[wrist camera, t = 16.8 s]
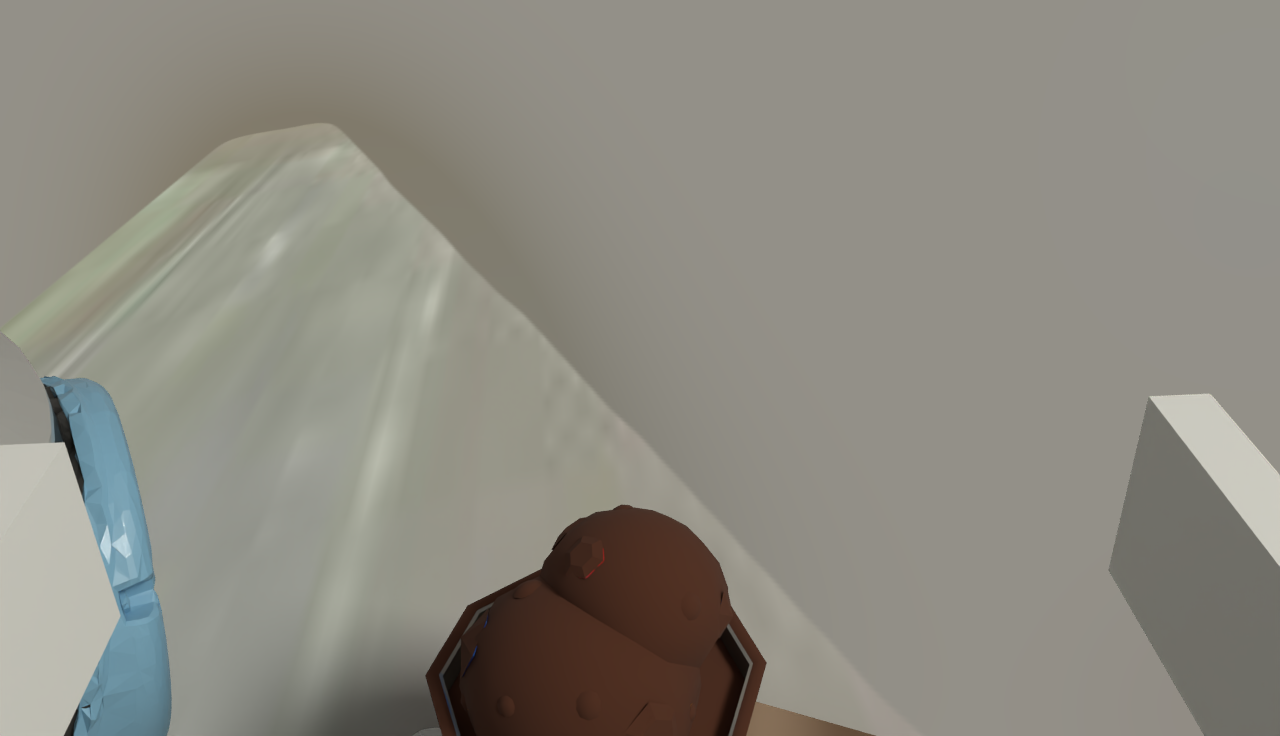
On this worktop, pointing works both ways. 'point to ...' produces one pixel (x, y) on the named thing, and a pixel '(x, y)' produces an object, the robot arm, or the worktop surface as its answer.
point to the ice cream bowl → (603, 641)
